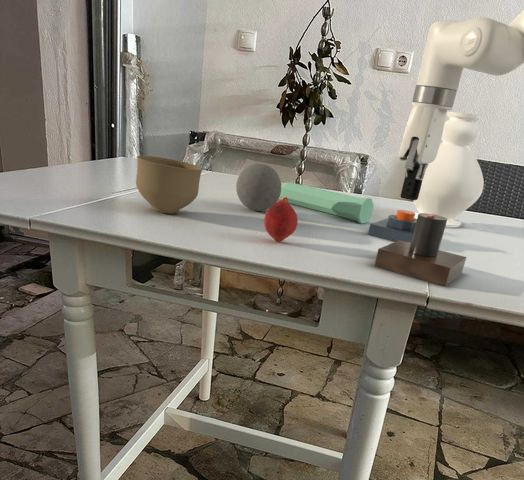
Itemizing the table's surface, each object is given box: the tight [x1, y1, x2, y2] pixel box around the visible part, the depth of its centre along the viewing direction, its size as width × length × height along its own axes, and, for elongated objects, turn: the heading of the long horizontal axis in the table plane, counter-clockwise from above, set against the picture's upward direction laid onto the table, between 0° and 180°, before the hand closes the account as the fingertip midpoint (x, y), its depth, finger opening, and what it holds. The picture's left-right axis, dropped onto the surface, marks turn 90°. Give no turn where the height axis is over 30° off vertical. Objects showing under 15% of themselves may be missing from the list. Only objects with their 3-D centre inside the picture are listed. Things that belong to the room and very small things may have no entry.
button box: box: [367, 214, 417, 243], centre depth 106 cm, size 11×9×4 cm
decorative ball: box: [235, 163, 282, 212], centre depth 112 cm, size 10×10×10 cm
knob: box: [409, 213, 447, 257], centre depth 83 cm, size 5×5×6 cm
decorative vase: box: [412, 110, 485, 228], centre depth 123 cm, size 18×18×25 cm
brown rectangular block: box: [374, 240, 467, 287], centre depth 85 cm, size 12×10×3 cm
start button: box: [395, 209, 416, 221], centre depth 105 cm, size 4×4×2 cm
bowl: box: [135, 155, 203, 215], centre depth 100 cm, size 13×13×10 cm
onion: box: [264, 197, 299, 243], centre depth 89 cm, size 6×6×8 cm
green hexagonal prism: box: [279, 181, 374, 224], centre depth 122 cm, size 6×6×25 cm
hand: (408, 198), depth 103 cm, fingers closed
